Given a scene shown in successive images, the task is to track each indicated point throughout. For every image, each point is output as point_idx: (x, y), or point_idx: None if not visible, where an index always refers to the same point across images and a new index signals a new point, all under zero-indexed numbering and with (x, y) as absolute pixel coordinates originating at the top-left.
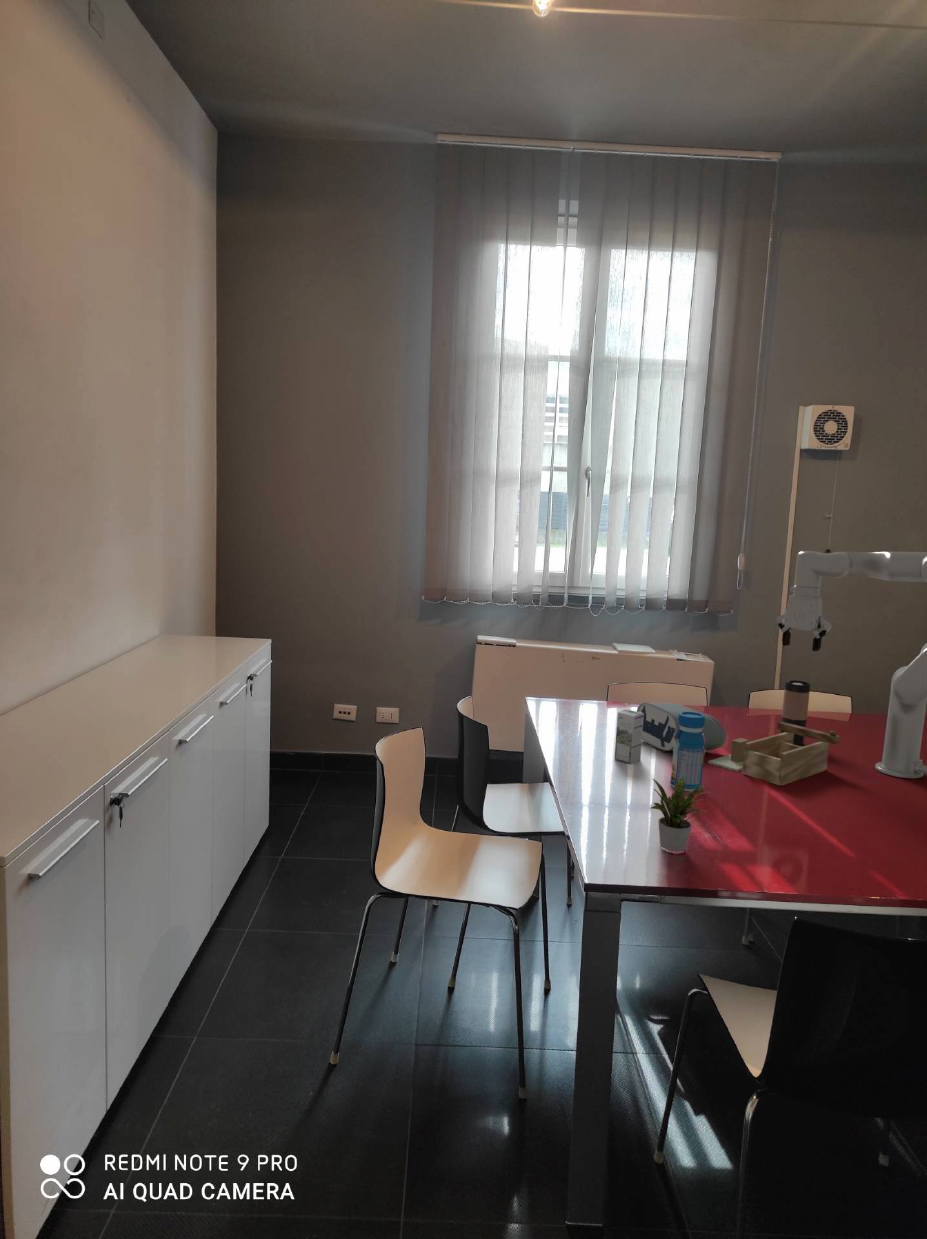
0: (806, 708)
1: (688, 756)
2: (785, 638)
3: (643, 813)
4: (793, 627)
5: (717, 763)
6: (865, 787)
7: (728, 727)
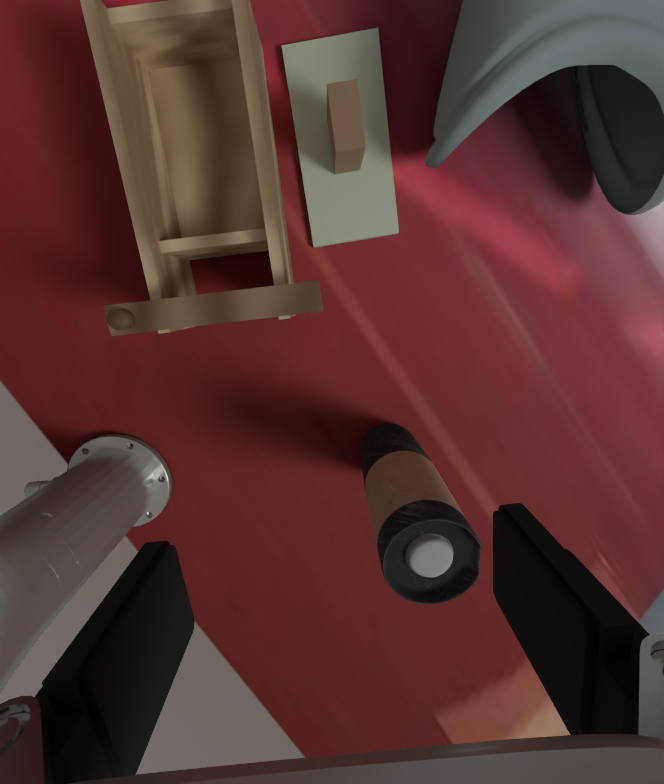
0: (369, 509)
1: None
2: (537, 567)
3: None
4: (467, 763)
5: (347, 33)
6: (61, 294)
7: (567, 419)
